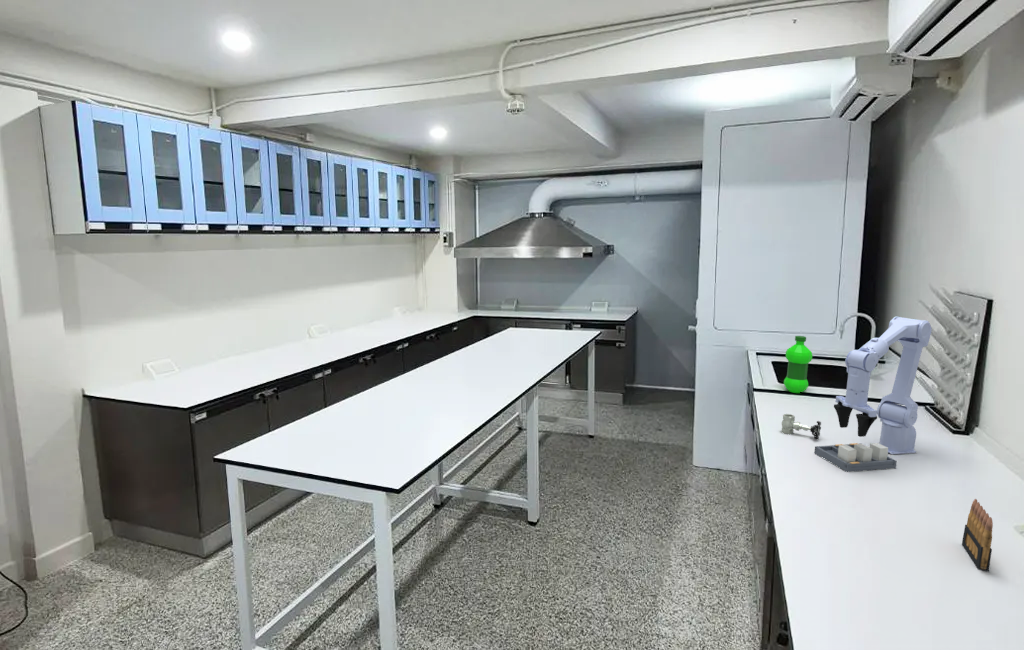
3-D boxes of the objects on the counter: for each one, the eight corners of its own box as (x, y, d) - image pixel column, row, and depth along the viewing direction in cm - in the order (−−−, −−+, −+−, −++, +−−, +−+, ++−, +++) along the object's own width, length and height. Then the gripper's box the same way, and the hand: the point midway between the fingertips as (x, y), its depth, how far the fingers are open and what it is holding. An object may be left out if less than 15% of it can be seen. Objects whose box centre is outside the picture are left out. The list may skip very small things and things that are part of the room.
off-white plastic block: (845, 458, 173) (846, 444, 173) (855, 463, 170) (856, 450, 169) (837, 459, 173) (838, 445, 172) (846, 464, 169) (848, 450, 168)
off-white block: (860, 457, 174) (862, 443, 174) (870, 462, 170) (872, 448, 170) (852, 458, 174) (854, 444, 173) (862, 463, 170) (864, 449, 169)
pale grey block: (876, 456, 175) (877, 442, 174) (886, 461, 171) (888, 447, 171) (868, 456, 175) (870, 443, 174) (878, 462, 171) (880, 448, 170)
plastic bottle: (807, 396, 242) (813, 340, 237) (780, 392, 247) (785, 337, 243) (809, 390, 250) (815, 336, 246) (783, 386, 256) (789, 333, 251)
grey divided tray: (860, 450, 184) (861, 442, 183) (895, 468, 170) (896, 460, 169) (814, 453, 181) (815, 445, 180) (846, 472, 167) (847, 463, 167)
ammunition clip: (961, 543, 130) (969, 496, 127) (971, 545, 129) (979, 497, 127) (977, 569, 120) (986, 518, 118) (988, 571, 119) (997, 520, 117)
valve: (778, 434, 197) (816, 442, 190) (780, 416, 196) (818, 424, 189) (783, 429, 203) (820, 436, 195) (784, 411, 201) (822, 419, 194)
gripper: (828, 383, 176) (824, 423, 179) (864, 397, 162) (858, 441, 165) (848, 382, 177) (844, 422, 180) (885, 396, 163) (879, 439, 166)
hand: (852, 431), depth 172 cm, fingers open, 7 cm apart
